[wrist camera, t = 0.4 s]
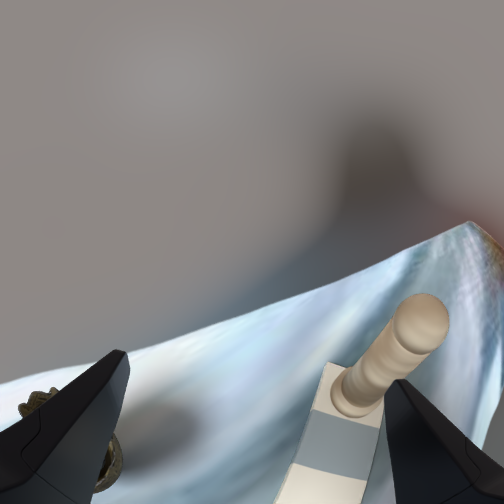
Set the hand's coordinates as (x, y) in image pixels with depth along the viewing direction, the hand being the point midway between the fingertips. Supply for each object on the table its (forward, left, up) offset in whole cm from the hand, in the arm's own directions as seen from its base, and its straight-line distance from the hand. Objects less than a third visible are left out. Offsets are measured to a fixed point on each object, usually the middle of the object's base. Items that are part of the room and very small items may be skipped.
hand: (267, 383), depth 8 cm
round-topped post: (+5, -12, -16) cm, 20 cm away
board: (-3, -8, -17) cm, 19 cm away
